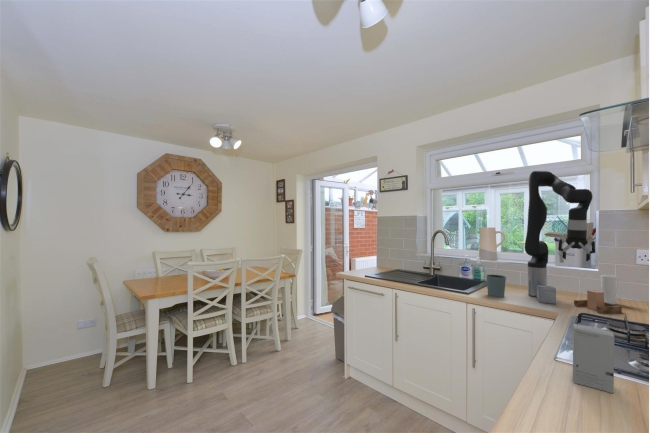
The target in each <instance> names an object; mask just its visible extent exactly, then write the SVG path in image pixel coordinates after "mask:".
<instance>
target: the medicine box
mask: <svg viewBox="0 0 650 433" xmlns="http://www.w3.org/2000/svg"><path fill="white" fill-rule="evenodd" d="M536 301H537V302H538V303H541V304H542V303H543V304H554V305H555V304H557V288H556V287H555V286H553V285H552V286H551V285H550V286H549V285H547V286H538V285H537V297H536Z"/></svg>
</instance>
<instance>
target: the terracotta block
mask: <svg viewBox="0 0 650 433" xmlns="http://www.w3.org/2000/svg"><path fill="white" fill-rule="evenodd" d="M586 291H587V292H586V293H587V294H586V298H587V299H586V300H587V306H586V307H587V309H590V310H593V311H596V310H597V306H604V292H602V291H600V290H599V291H598V290H593V289H592V290H591V289H589V290H586Z"/></svg>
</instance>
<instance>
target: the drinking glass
mask: <svg viewBox="0 0 650 433" xmlns="http://www.w3.org/2000/svg"><path fill="white" fill-rule="evenodd" d="M618 279H619V278H618V276H617V275H612V274H601V275H600V286H601V288H600V289H601V292H604V302H606V303H610V304H614V305H617V298H618V296H617V295H618V288H619V287H618V286H619V280H618Z"/></svg>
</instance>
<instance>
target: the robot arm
mask: <svg viewBox="0 0 650 433" xmlns="http://www.w3.org/2000/svg"><path fill="white" fill-rule="evenodd" d="M539 187H550V188H551V189H552V191H553V192H554V194H557V195H559V196H560V197H562V198H563V200H564V201H565V202H566V203H568V204H569V203H570V204H577V206H576V207H572V208H569V210H568V220H567V225H566V226H567V227H566V228H567V229H566V230H567V231H566V239H565V238H564V239H563V238H560V239H559V240H558V247H557V248H558V249H557V250H558V251H559V252H562V258H563V260H567V251H568V250H569V249H570V248H572V249H577V250H581V249H583V251H584V252H585V262H589V261H590V260H591V254H596V242H595V241H594V240H588V238H587V236H588V235H587V234H588V210H589V209H590V205H591V203H592V201H593V193H592V191H591V190H590V189H587V188H584V189H583V188H579V189H578V188H576V187H575V186H574V185H572V184H570V183H569V182H566V181H564V180H562V179H561V178H560V177H558V176H556V175H555V174H554V173H553V172H551V171H548V170H532V171H531V172H530V173H529V176H528V210H527V226H526V227H527V228H526V236H525V241H524V252H525V253H526V254H527V255H528V256H530V257H531V258H530V260H528V261H527V295H528V296H531V297H535V298H537V285H538V286H548V281H547V278H548V277H547V265H548V264H549V246H548V244H547V243H546V242H545V241H543V240H540V237H541V231H542V230H543V228H544V226H545V224H546V221H547V218H548V217H547V216H548V207H547V205H546V203H545V202H544V200H543V199H542V197H541V195H540V190H539V189H540V188H539ZM565 243H566V244H567V245H566V246H565V247H564V248H562V247H563V246H562V245H563V244H565ZM588 244H589V246H591V249H590V250H589V249H588V248H587V247H586V246H587V245H588Z"/></svg>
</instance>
